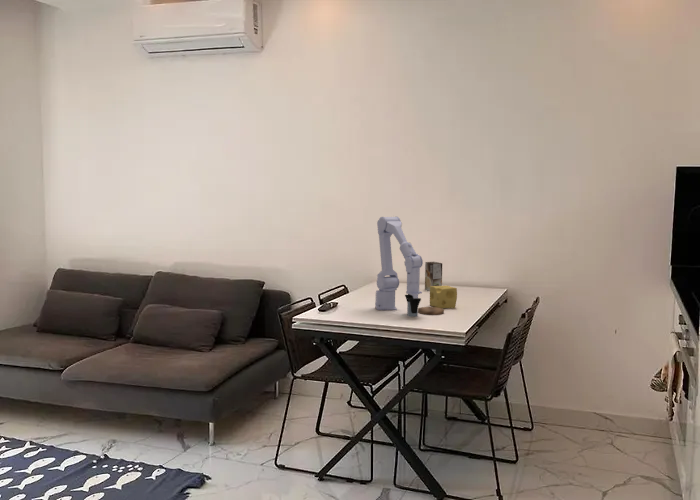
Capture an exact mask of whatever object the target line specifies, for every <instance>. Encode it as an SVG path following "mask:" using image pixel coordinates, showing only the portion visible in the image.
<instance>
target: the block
mask: <svg viewBox="0 0 700 500" xmlns="http://www.w3.org/2000/svg"><path fill="white" fill-rule="evenodd" d="M406 309H407V311H406V312H407V313H406V314H407V317H418V314H419V313H418V309H417V313H412V312H411V305H410V302H408V303H407V308H406Z"/></svg>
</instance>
